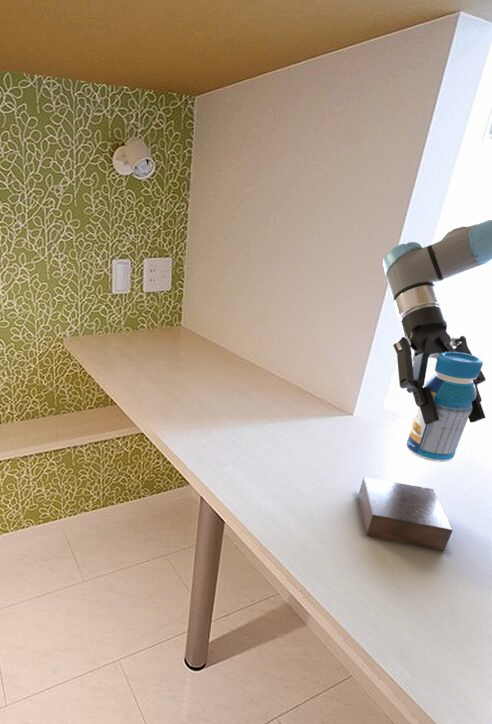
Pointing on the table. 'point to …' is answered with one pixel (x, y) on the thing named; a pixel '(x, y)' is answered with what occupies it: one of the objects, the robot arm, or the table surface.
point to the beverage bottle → (446, 407)
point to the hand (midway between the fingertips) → (455, 421)
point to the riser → (403, 513)
